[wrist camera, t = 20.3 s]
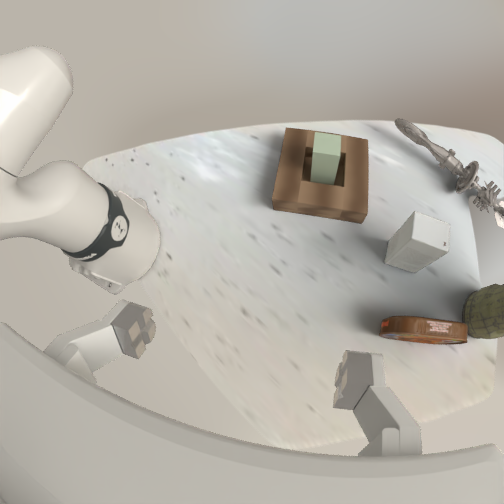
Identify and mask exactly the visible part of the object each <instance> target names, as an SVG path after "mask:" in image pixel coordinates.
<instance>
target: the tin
mask: <svg viewBox="0 0 504 504" xmlns="http://www.w3.org/2000/svg"><path fill="white" fill-rule="evenodd" d="M467 334H468V326H467V325H466V324H464V323H460V322H454V321H447V320H439V319H432V318H424V317H415V316H392V317H389V318H387V319H384V320H383V321H382V325H381V331H380V334H379V336H381V337H383V338H388V339H394V340H402V341H410V342H419V343H428V344H446V345H447V344H462V343H467Z"/></svg>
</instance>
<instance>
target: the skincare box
mask: <svg viewBox="0 0 504 504" xmlns="http://www.w3.org/2000/svg"><path fill="white" fill-rule="evenodd" d="M449 238H450V224H449V223H446V222H444V221H441V220H438V219H436V218H433V217H430V216H427V215H425V214H422V213H419V212H416V211H414V212H413V213H412V215H411V216H410V217H409V218H408V219H407V221H406V222H405V223H404V224H403V225H402V226H401V228H400V229H399V230H398V231H397V232H396V233H395V234H394V236H393V237H392V238H391V239H390V240H389V242H388V248H387V253H386V258H385V264H388V265H391V266H394V267H397V268H400V269H404V270H407V271H410V272H413V273H416V272H418V271H419V270H421V269H423V268H424V267H426V266H427V265H429V264H431V263H432V262H434V261H435V260H437V259H439V258H440V257H442V256H443V255H445V254H446V253H448V252H449Z"/></svg>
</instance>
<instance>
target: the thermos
mask: <svg viewBox="0 0 504 504" xmlns="http://www.w3.org/2000/svg"><path fill="white" fill-rule="evenodd" d="M462 316H463V323H464V324H466V325H467V326H468V334H469V335H470V336H471V337H473V338H483V339H493V338H499V337H503V336H504V284H503V285H498V284H493V285H490V286H487V287H484V288H481V289H480V290H479V291H475V292H473V293H472V294H470V295H469V297H468V298H467V299H466V301H465V304H464V307H463V314H462Z"/></svg>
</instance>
